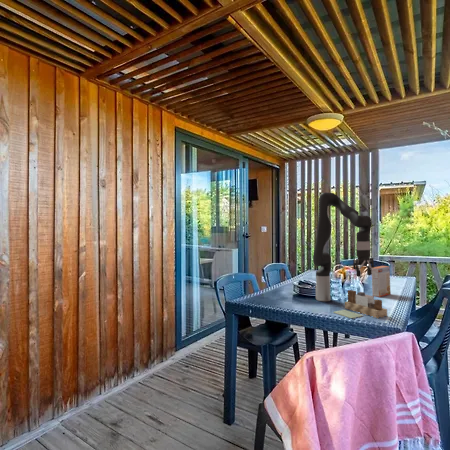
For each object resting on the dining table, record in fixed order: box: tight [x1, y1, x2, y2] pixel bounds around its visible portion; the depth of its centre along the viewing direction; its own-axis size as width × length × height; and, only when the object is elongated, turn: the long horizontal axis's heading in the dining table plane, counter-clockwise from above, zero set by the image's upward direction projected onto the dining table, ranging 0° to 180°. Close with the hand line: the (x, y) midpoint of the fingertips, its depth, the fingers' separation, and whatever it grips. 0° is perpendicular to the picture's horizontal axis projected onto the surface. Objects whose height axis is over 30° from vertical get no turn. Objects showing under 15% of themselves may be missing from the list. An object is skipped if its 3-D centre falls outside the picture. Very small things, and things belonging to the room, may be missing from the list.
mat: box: [333, 309, 364, 319], centre depth 184 cm, size 14×9×1 cm, turn 24°
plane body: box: [344, 289, 388, 319], centre depth 188 cm, size 24×8×11 cm, turn 24°
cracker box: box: [371, 265, 392, 298], centre depth 229 cm, size 14×6×21 cm, turn 121°
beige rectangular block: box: [356, 291, 375, 308], centre depth 188 cm, size 9×5×7 cm, turn 24°
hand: (363, 275), depth 188 cm, fingers open, 8 cm apart
